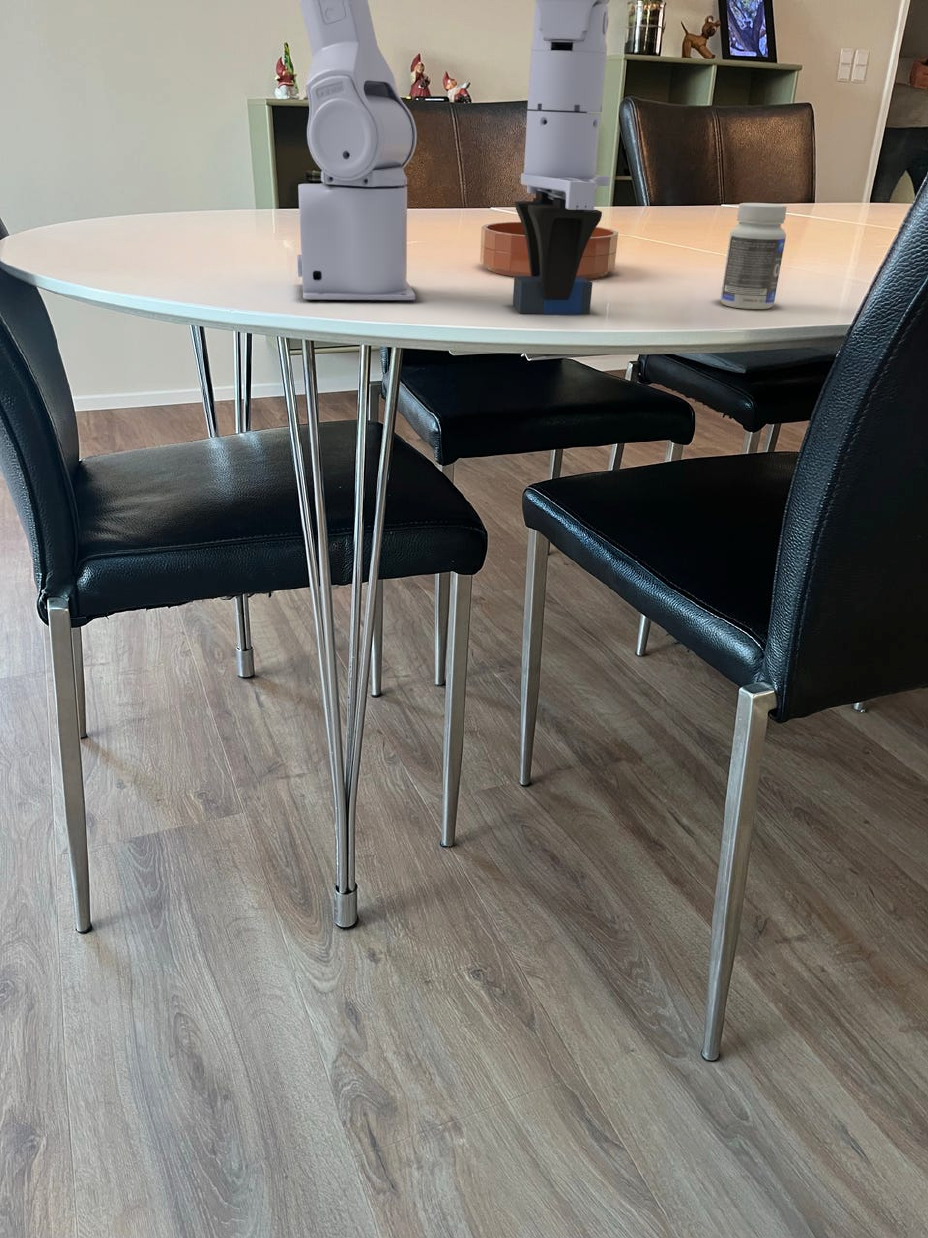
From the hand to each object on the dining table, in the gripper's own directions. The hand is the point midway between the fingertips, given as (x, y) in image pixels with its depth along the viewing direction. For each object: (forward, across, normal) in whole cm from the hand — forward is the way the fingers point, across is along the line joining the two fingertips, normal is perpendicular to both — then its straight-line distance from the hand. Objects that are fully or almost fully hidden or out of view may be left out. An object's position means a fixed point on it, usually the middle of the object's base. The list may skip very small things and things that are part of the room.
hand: (550, 295), depth 80 cm
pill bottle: (+1, +3, -19) cm, 19 cm away
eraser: (+1, 0, 0) cm, 1 cm away
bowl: (+1, +22, -5) cm, 23 cm away
